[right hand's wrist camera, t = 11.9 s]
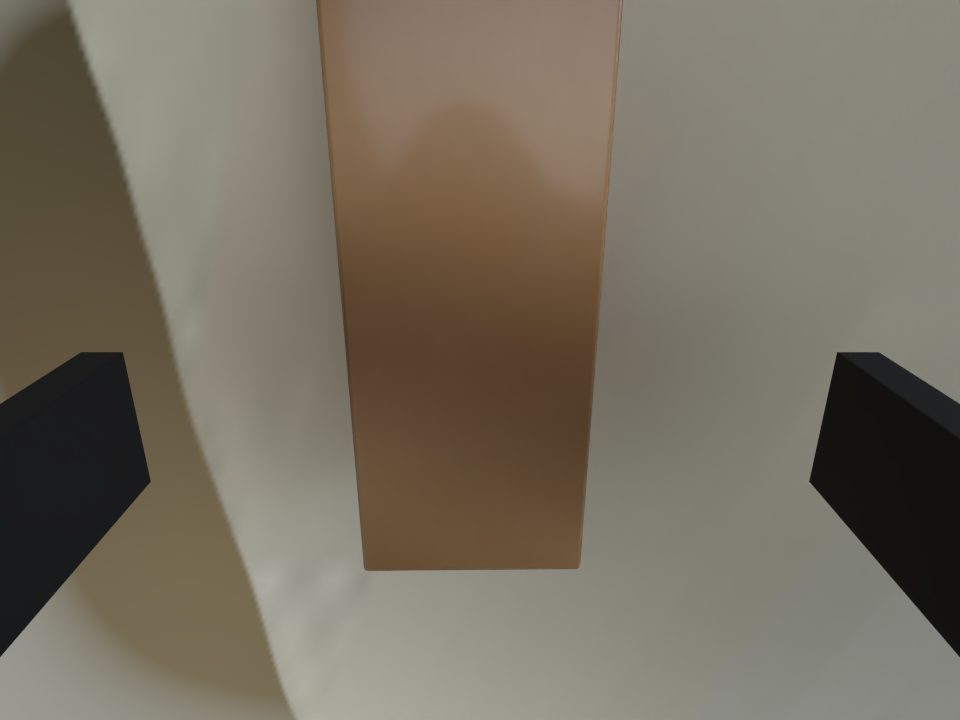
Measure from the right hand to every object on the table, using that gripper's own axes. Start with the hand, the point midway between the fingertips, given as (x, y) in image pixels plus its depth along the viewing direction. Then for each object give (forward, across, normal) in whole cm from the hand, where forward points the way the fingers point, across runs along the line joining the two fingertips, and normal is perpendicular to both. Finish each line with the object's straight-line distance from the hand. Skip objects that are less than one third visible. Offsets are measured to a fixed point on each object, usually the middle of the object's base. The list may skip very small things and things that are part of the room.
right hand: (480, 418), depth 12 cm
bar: (+8, 0, -26) cm, 27 cm away
